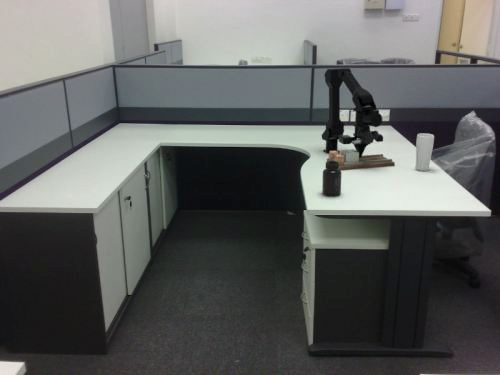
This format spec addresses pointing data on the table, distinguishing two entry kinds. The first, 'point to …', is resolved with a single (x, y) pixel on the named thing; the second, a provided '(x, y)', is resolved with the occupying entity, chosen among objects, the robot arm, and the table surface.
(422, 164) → the drinking glass
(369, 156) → the track
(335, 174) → the supplement bottle
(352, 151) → the block
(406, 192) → the table surface
